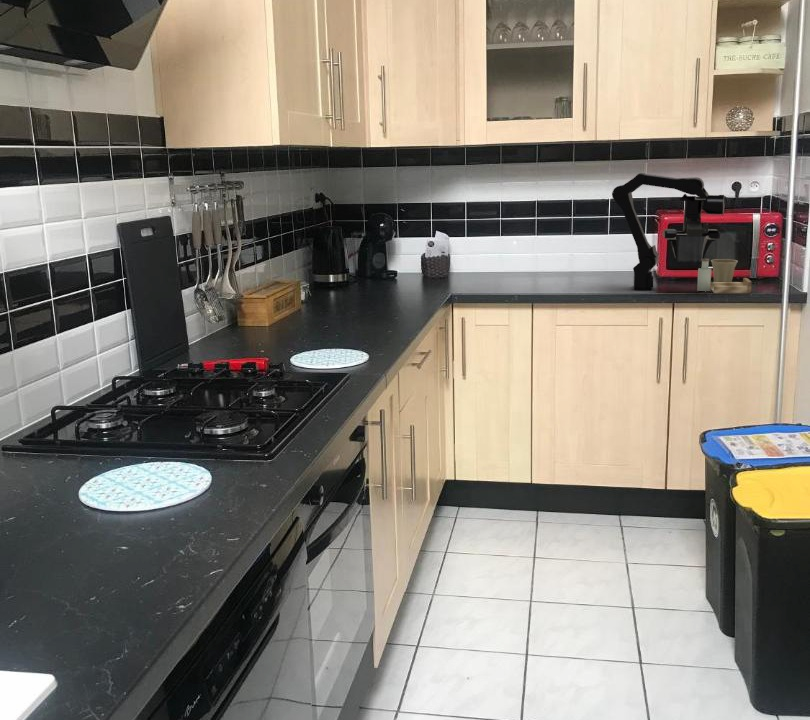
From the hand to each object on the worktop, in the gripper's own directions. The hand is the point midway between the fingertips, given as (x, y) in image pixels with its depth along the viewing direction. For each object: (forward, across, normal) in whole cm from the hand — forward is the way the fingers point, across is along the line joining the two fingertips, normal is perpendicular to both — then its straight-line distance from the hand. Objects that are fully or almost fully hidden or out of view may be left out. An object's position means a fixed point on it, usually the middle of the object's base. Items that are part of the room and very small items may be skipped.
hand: (689, 258), depth 299 cm
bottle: (+12, +6, -1) cm, 13 cm away
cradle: (+12, +14, -1) cm, 18 cm away
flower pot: (+12, +16, +15) cm, 24 cm away
